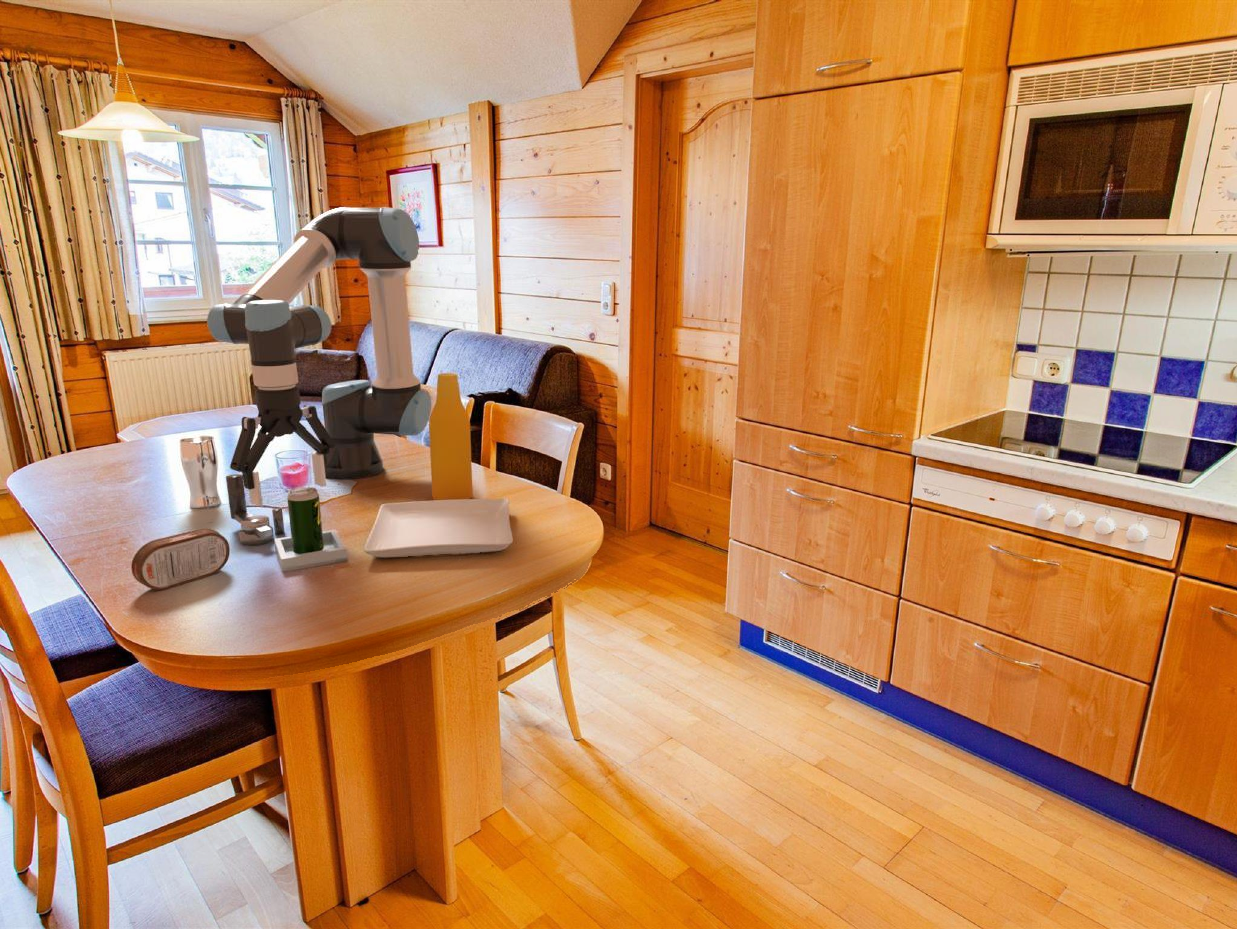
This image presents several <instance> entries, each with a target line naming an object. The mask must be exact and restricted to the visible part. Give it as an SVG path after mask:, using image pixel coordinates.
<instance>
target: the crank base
mask: <svg viewBox="0 0 1237 929" xmlns="http://www.w3.org/2000/svg"><path fill="white" fill-rule="evenodd" d="M271 511H272V520H273V526H271V525H270V528H271V529H272V535H270V536H266V537H260V536H259V535H257V534H256V533H245V532H242V529H240V530H239V531H238V534H239V535H238V536H239V543H240V544H241V545H243V546H248V547H250V546H252V547H253V546H262V545H266V544H268V543H271V542H272V541H273V540H274V539H275V538H274V537H275V536H276V535H278V536H282V535H283V534H284V535H285V524H284V515H283V514H284V512H283V508H282V507H278V508H277V507H276V508H273V509H272V510H271ZM274 534H275V536H274Z"/></svg>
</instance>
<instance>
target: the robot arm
mask: <svg viewBox="0 0 1237 929" xmlns="http://www.w3.org/2000/svg"><path fill="white" fill-rule="evenodd" d="M419 239H420V238H419V233H418V230H417V227H416V225H415V222H414V220H413V219H412V217H411V216H410V214H409V213H408V212H406V210H404V209H402V208H396V207H388V206H382V207H381V206H380V207H378V206H377V207H366V206H365V207H364V206H363V207H361V206H360V207H359V206H358V207H356V206H354V207H350V206H343V207H341V206H340V207H338V208H337V207H336V208H334V209H330V210H328V211H326V212H323V213H322V214H320V215H318V216H316V217H314V218H313V219H312V220H311V221H309V222H308V223H306V224H305V225H304V226H303V227H301V229H299V231H298V232H296V234H295V235H294V239H293V243H292V245H291V246H290V247H288V249H286V250H285V251H284V253H282V254H281V256H279V257H278V258H277V260H275V262H273V264H272V265H270V266H269V267H268V268H267V269H266V270H265V271H264V273H262V274H261V275H260V276H259V277H258V278H257V279H256V280H255V281H254V283H252V284H251V285H250V287H248V288H247V289H246V290H245V291H244V292H243V293H242V294H241V295H240V296H239V297H238V299H236V300H235V301H234V302H233V303H232V304H229V303H228V302H227V303H223V304H222V303H220V304H216V305H214V306H212V307H211V308H210V310H209V311H208V314H207V319H206V321H207V324H206V325H207V328H208V330H209V333H210V335H211V336H212V337H213V338H214V339H215V340H216V341H218V342H221V343H227V344H234V345H248V348H249V354H250V363H251V370H252V378H253V385H254V386H255V387H256V388H255V389H254V395H255V403H256V408H257V411H258V414H257V416H255V417H247V416H243V417H242V418H241V431H240V435H239V437H238V441H237V443H236V446H235V449H234V453H233V456H232V459H231V462H230V464H229V468H230V470H233V471H236V472H238V473H241V475H243V483H244V489H247V490H248V493H249V501H250V504H252V505H255V506H258V507H260V506H263V496H262V489H261V483H260V482H261V481H260V473H259V471H258V470H255V469H256V467H257V465H258V464H259V462H260V460H261V458H262V457H263V455H264V453H265V452H266V450H267V449H268V446H269V445H270V443H271V442H273V441H274V439H275V437H276V438H280V437H284V436H285V435H292V434H294V433H295V434H296V435H297V436H298V437H300V439H302V440H303V441H304V442H305V443H306V444H307V445H308V446H310V447H311V449H313V450H314V451H313V452H312V453H311V461H312V470H313V471H312V472H313V478H314V485H317V486H319V487H323V488H325V487H327V478H330V479H339V480H343V479H345V480H349V479H350V480H351V479H359V478H360V479H361V478H366V477H367V478H368V477H371V476H374V475H377V474H379V473H381V472H383V470H384V462H383V458H382V456H381V454H380V451H379V449H378V447H377V444H376V442H375V435H377V434H378V435H389V436H391V435H392V436H400V437H405V436H417V435H420V434H421V433H423V431H424V430H425V429H426V427H427V425H428V424H429V420H430V416H431V413H432V397H431V395H430V393H429V391H428V390H426V389H423V388H422V385H421V379H420V378H419V377H417V376H416V375H415V373H414V367H413V366H414V364H413V355H412V353H413V352H412V343H411V330H410V319H409V308H408V307H409V306H408V295H407V283H406V275H407V273H408V272H410V270H411V269H412V263H411V262H413V261H414V260H416V259H417V257H418V255H419V250H420V240H419ZM341 260H358V264H359V266H358V267H359V270H360V271H362V272H363V273H364V274H365V276H366V278H367V288H368V297H369V306H370V307H369V308H370V317H371V326H372V329H371V330H372V335H373V336H372V337H373V347H374V355H375V356H374V358H375V366H376V368H375V369H376V377H375V379H373V380H372V381H371V382H370V380H369V379H367V380H366V379H357V380H347V381H342V382H337V383H336V382H335V383H332V384H328V385H327V386H325V387H323V389H322V393H321V397H322V398H321V401H322V402H321V406H322V413H323V414H322V415H323V422H322V420H320V418H319V416H318V411H317V408H316V406H314V405H309V404H304V405H303V406H302V407H301V406H300V405H301V395H300V388H299V386H298V385H297V384H298V383H299V376H298V368H297V361H296V351H295V350H296V349H300V348H304V347H310V346H316V345H318V344H319V343H322V342H324V341H325V340H327V339H328V337H330V335H331V331H332V321H331V317H329V315H328V313H327V312H326V311H325V309H323V308H322V307H319V306H317V305H305V304H303V305H301V306H290V304H291V303H292V302H293V301H294V300H295V298H297V296H298V295H299V294H300V293H301V292H302V291H303V290H304V289H305V288H306V286H307V285H309V283H311V281H312V280H313V279H314V278H315V277H316V276H317V275H318V274H319V272H321V270H323V269H327V268H329V267H331V266H332V265H333V264H334V263H336V262H337V261H341ZM302 418H305V420H306V422H307V423H308V424H309V426H310V428H311V429H312V431H313V433H314V434H315V436H316V437H317V438H316V437H315V436H314V435H313V434H312V433H311V432H310V431H308V429H307V428H306V426H304V424H302V423H301V419H302ZM259 426H261V427H260V429H259V431H257V429H258V428H259ZM256 431H257V434H256ZM255 436H257V437H256V438H255ZM254 439H255V440H254ZM326 477H327V478H326Z"/></svg>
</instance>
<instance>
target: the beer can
mask: <svg viewBox="0 0 1237 929" xmlns="http://www.w3.org/2000/svg"><path fill="white" fill-rule="evenodd" d="M287 494H288V495H287V499H286V500H287V508H288V517H289V527H290V536H291V537H292V546H293V552H294V554H295V555H298V554H304V553H310V552H316V551H322V550H323V549H324V543H323V533H322V532H323V526H322V512H321V504H320V494H319V493H318V489H317V488H315V487H304V486H303V487H299V488H298V487H297V488H293V489H291V490H289V491H288V493H287Z"/></svg>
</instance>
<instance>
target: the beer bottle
mask: <svg viewBox="0 0 1237 929" xmlns="http://www.w3.org/2000/svg"><path fill="white" fill-rule="evenodd" d="M436 384H437V385H436V398H435V404H434V406H433V408H432V409H431V413H430V417H429V420H428V434H429V435H428V436H429V451H430V452H429V454H430V456H429V457H430V473H431V496H432V500H433V501H435V500H460V499H470V498H471V497H472V498H473V492H474V491H473V469H472V443H471V442H472V441H471V439H472V438H471V421H470V416H469V414H468V412H467V411H466V408H465V406H464V404H463V402H462V397H461V391H460V386H459V384H460V383H459V379H458V374H457V373H451V372H448V373H446V372H445V373H439V374H437V383H436ZM472 498H471V499H472Z"/></svg>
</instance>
